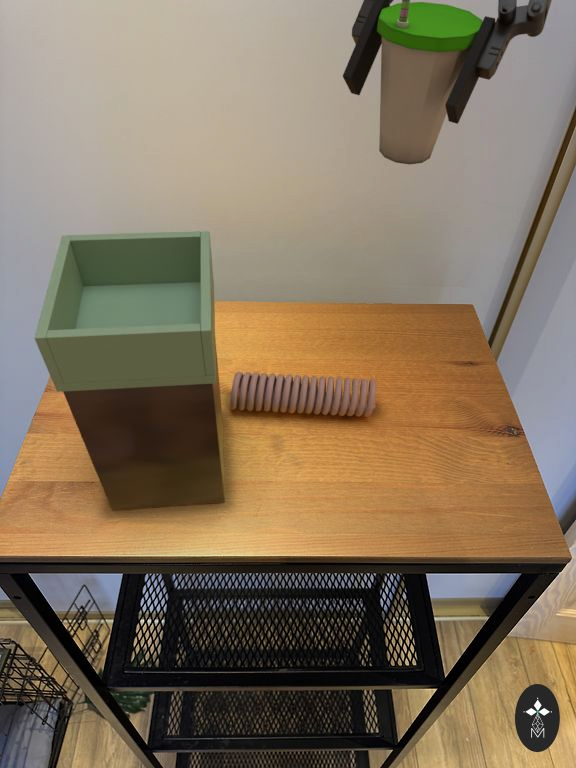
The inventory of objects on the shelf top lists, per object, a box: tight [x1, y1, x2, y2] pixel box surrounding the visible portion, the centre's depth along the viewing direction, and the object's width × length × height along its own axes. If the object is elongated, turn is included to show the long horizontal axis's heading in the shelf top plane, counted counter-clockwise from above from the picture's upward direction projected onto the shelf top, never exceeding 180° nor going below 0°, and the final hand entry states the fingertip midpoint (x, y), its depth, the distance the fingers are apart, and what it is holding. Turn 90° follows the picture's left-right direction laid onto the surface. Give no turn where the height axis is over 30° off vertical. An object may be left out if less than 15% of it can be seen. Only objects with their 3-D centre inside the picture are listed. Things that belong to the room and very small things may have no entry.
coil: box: [229, 371, 377, 418], centre depth 69 cm, size 5×5×18 cm
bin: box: [34, 230, 217, 393], centre depth 48 cm, size 13×13×6 cm
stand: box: [62, 338, 226, 511], centre depth 58 cm, size 12×12×20 cm
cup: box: [377, 0, 483, 165], centre depth 45 cm, size 8×8×15 cm
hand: (400, 99), depth 44 cm, fingers closed on cup, 8 cm apart
